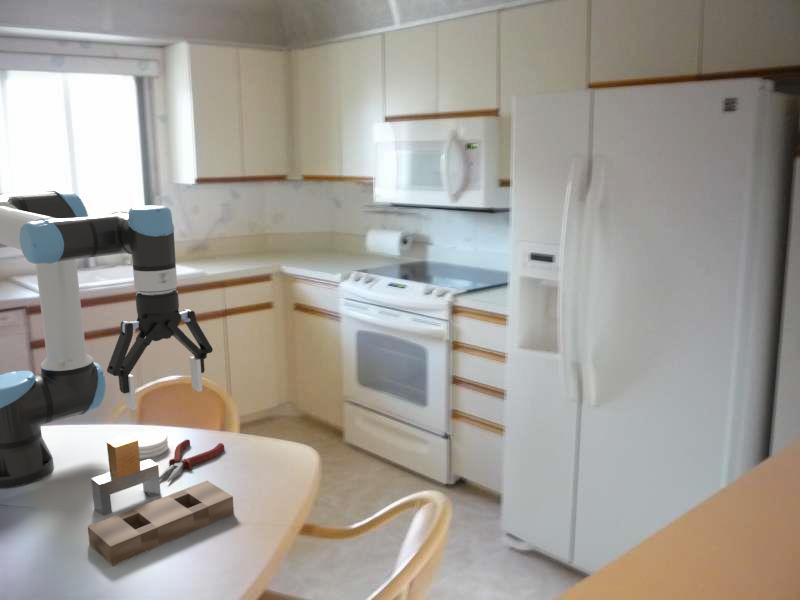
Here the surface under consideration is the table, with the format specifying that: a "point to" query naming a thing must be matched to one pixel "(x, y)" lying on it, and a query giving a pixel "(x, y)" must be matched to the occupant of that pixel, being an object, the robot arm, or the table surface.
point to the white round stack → (151, 443)
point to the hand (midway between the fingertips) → (165, 398)
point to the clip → (124, 473)
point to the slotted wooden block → (159, 522)
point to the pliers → (188, 460)
